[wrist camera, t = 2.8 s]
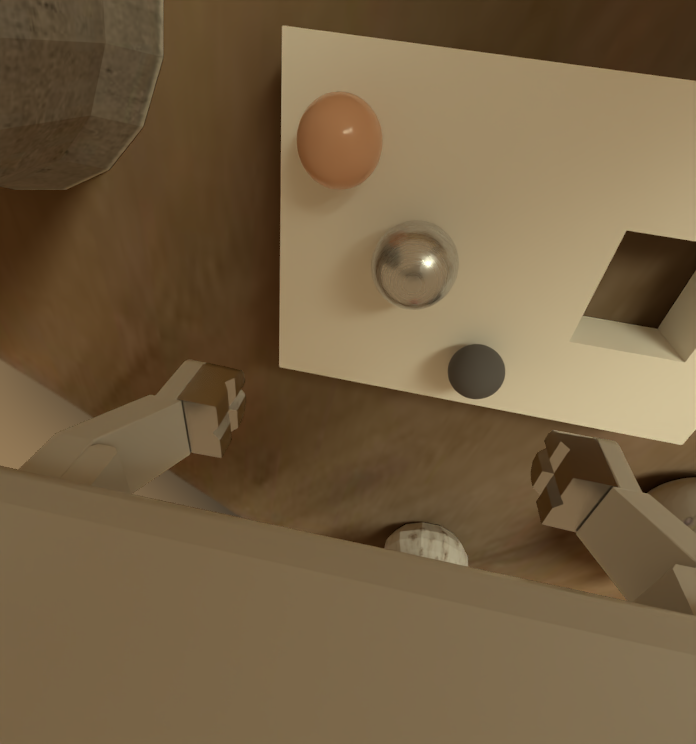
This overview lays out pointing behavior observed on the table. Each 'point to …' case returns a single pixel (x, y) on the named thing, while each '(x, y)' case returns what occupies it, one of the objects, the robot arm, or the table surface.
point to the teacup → (679, 499)
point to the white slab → (493, 228)
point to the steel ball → (414, 264)
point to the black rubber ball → (476, 371)
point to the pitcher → (73, 86)
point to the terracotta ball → (339, 140)
